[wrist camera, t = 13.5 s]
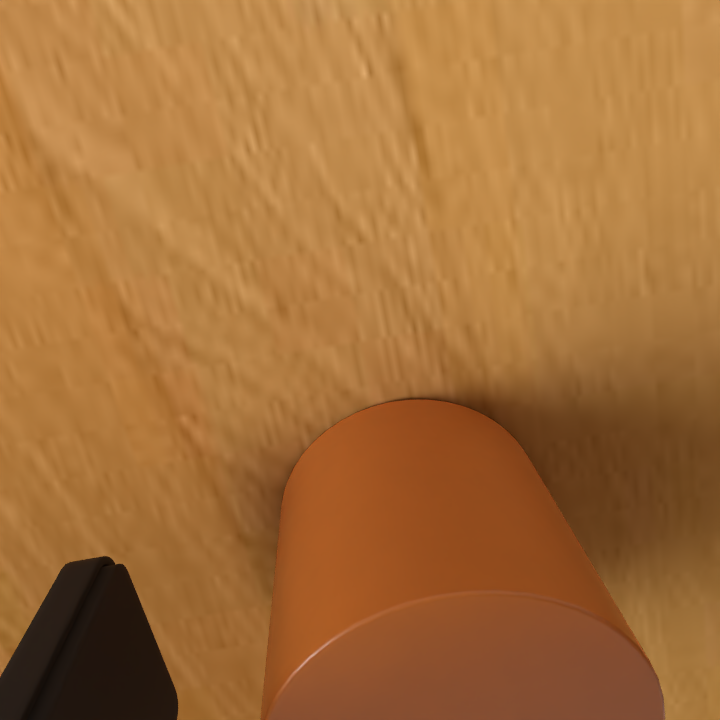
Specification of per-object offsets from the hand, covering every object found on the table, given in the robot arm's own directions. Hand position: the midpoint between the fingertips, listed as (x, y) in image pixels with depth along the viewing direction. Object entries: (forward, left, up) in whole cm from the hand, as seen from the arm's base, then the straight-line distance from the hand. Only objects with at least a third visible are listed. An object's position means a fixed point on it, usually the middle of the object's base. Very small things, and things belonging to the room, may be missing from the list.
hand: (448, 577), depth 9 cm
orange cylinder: (0, 0, -2) cm, 2 cm away
